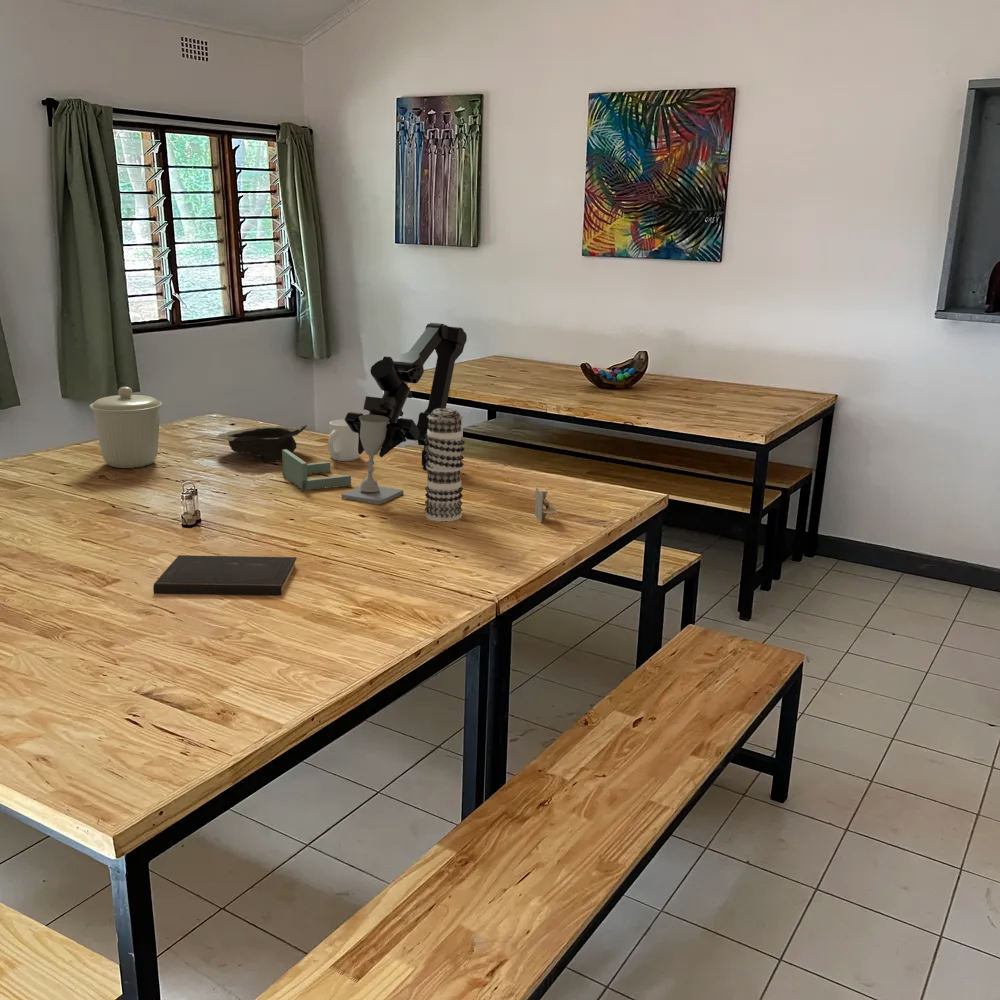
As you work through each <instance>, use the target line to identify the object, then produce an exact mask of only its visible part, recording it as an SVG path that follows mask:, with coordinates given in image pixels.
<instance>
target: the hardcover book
mask: <svg viewBox="0 0 1000 1000" xmlns="http://www.w3.org/2000/svg"><path fill="white" fill-rule="evenodd" d="M296 561H297V557H294V556H293V557H292V556H244V555H243V556H242V555H241V556H239V555H237V556H236V555H235V556H234V555H231V556H230V555H189V554H188V555H187V554H186V555H185V554H184V555H182V554H181V555H178V556H177V557H176V558H175V559H174V560H173V561H172V562H171V563H170V565H169V566H168V567H167V568H166V569H165V571H164V572H163V573H162V574H161V575H160V576H159V577H158V579H157V580H156V581H155V582H154V584H153V589H152V590H153V594H154V595H155V594H158V595H159V594H160V595H163V594H164V595H205V596H206V595H208V596H212V595H215V596H217V595H219V596H222V595H223V596H264V597H265V596H267V597H269V596H274V597H275V596H276V597H277V596H280V597H282V592H283V591H284V589H285V587H286V585H287V583H288V581H289V579H290V577H291V575H292V574H293V571H294V569H295V566H296V564H295V563H296Z"/></svg>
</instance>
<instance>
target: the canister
mask: <svg viewBox="0 0 1000 1000" xmlns="http://www.w3.org/2000/svg"><path fill="white" fill-rule="evenodd" d="M117 394H118V395H110V396H105V397H101V398H97V400H94V402H92V403H91V404H89V409H90V410H92V415H93V418H94V419H93V420H94V423H95V429H96V434H97V438H98V442H99V446H100V451H101V454H102V458H103V460H104V462H105V463H106V464H107V465H108V466H110V467H113V468H118V469H137V468H142V467H143V468H144V467H147V466H149V465H152V464H153V463H154V462H155V461H156V459H157V457H158V451H159V441H160V440H159V437H160V436H159V435H160V417H161V414H160V411H161V410H160V409H161V407H162V406H163V402H162V401H161V400H158V399H157V398H155V397H153V396H148V395H145V394H144V395H141V394H133V390H132V388H131V387H130V386H129V387H128V386H121V387H119V389H118V390H117ZM146 465H147V466H146ZM135 467H136V468H135Z"/></svg>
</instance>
